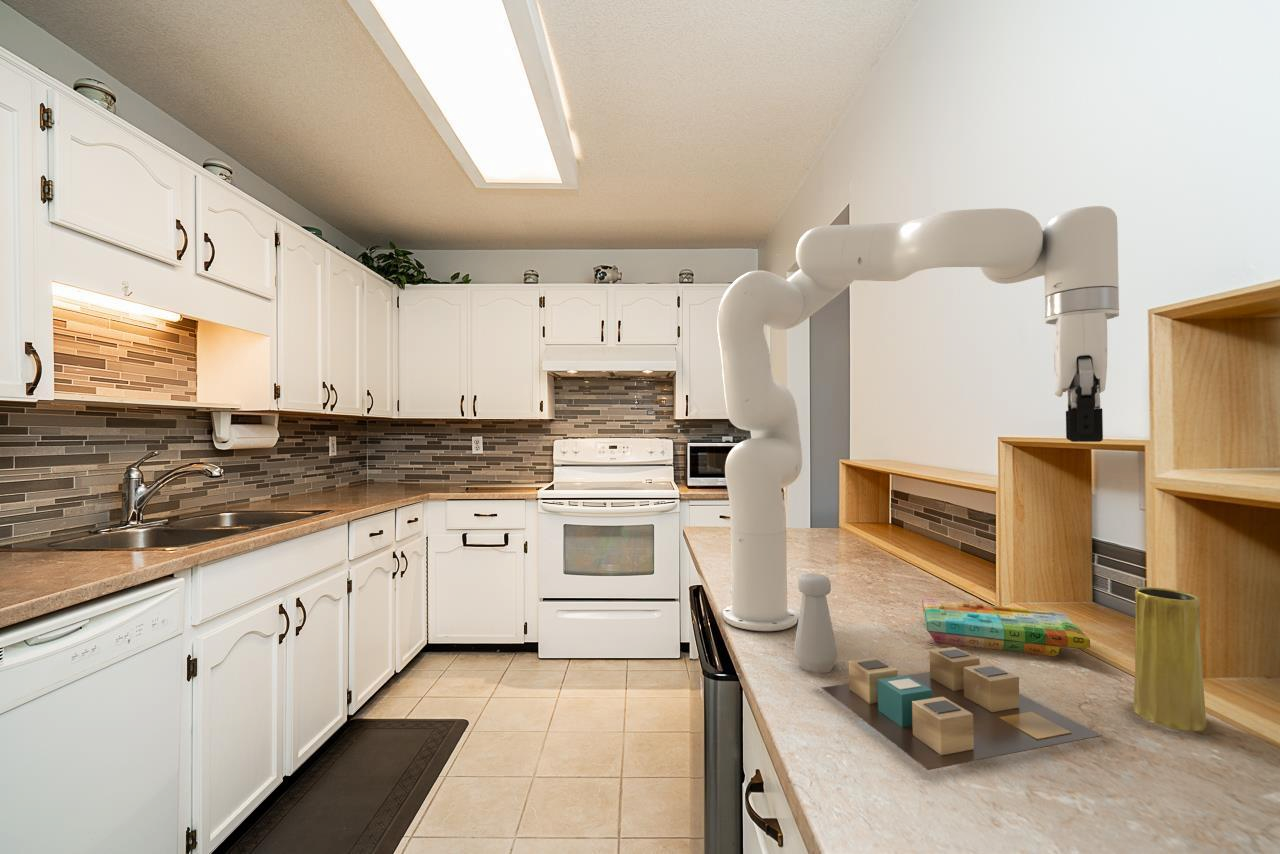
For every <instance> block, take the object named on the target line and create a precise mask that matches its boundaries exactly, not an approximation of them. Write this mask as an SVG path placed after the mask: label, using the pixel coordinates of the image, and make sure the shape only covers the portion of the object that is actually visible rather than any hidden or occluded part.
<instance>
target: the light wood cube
mask: <svg viewBox="0 0 1280 854" xmlns="http://www.w3.org/2000/svg"><path fill="white" fill-rule="evenodd" d="M898 676H899V670H898V669H897V668H895V667H894V666H891V665H890V664H888V663H887V662H885V661H883V660H881V659H880V658H879V657H877V656H875V657H869V658H867V657H866V658H860V659H852V660H848V684H849V689H850V690H851V691H852V692H854V693H855V694H856V695H858V696H859V697H861V698H862V699H863V700H865V701H866V702H868V703H869V704H873V703H878V679H884V678H891V677H898Z"/></svg>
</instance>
